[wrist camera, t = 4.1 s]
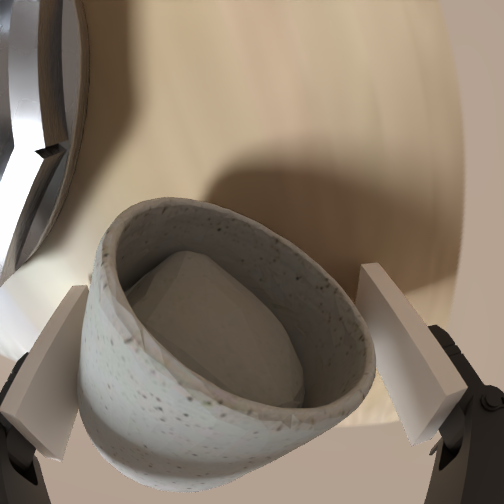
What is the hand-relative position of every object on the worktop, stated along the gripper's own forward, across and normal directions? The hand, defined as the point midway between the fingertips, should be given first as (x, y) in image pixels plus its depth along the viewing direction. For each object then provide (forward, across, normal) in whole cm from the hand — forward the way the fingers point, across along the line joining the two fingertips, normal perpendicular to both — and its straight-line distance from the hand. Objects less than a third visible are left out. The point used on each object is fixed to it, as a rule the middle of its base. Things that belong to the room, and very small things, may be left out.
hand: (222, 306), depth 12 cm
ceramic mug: (+1, 0, -1) cm, 1 cm away
